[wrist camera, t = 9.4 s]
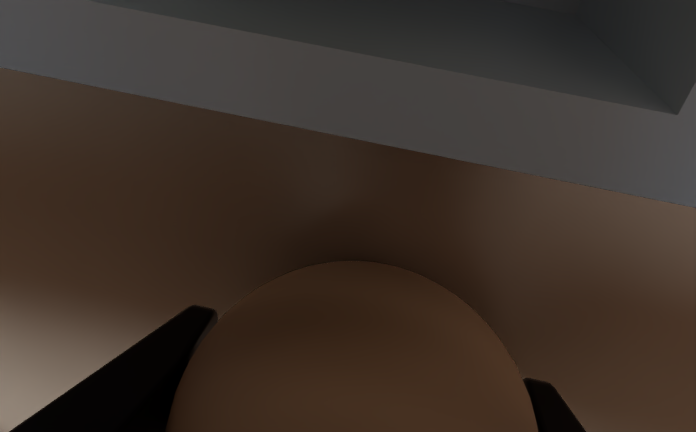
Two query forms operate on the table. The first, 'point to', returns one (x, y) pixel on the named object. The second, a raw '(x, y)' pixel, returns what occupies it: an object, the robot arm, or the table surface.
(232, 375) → the walnut ball
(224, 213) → the table surface
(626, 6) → the bin
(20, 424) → the robot arm
